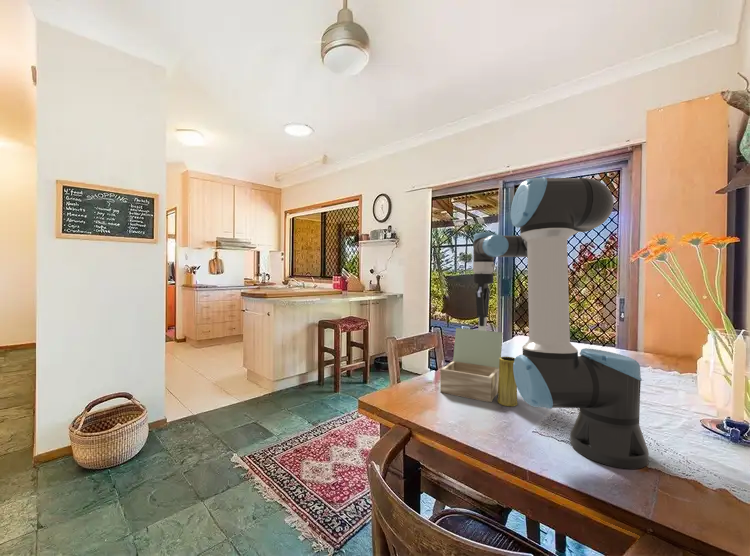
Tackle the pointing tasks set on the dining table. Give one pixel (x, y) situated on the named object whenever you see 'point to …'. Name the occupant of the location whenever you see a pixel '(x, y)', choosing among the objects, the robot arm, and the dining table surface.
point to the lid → (478, 347)
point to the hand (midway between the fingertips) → (482, 333)
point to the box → (470, 380)
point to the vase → (507, 382)
